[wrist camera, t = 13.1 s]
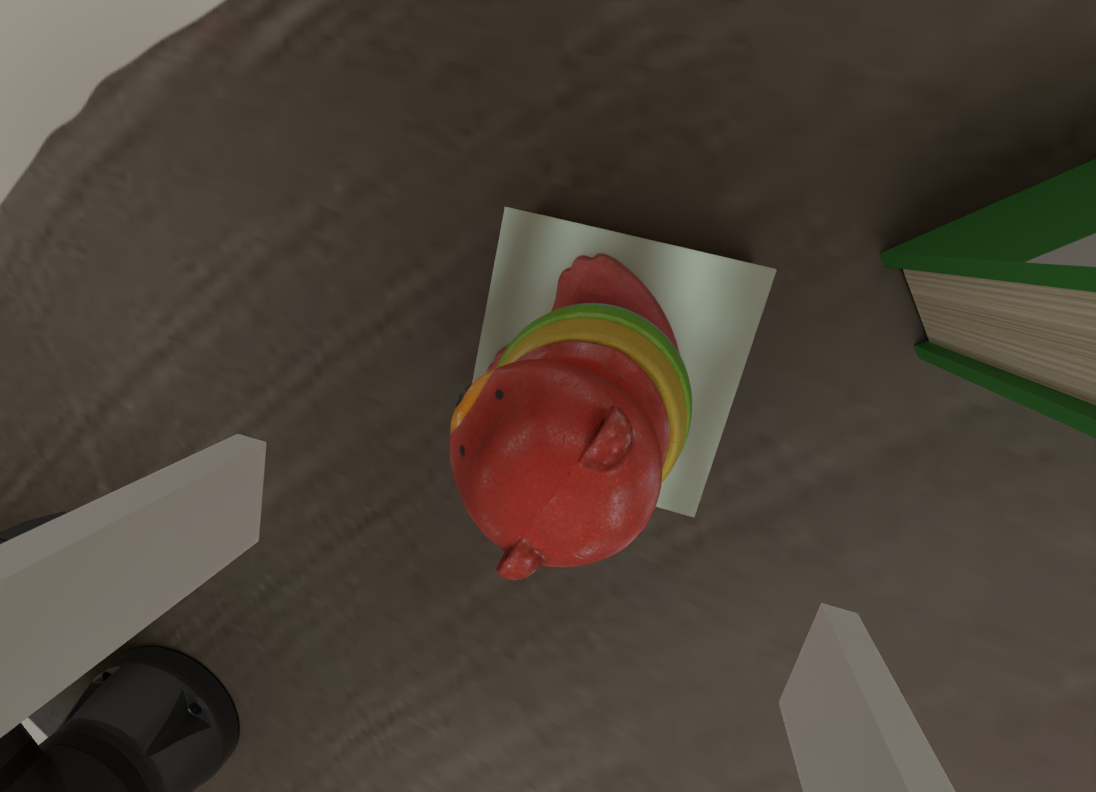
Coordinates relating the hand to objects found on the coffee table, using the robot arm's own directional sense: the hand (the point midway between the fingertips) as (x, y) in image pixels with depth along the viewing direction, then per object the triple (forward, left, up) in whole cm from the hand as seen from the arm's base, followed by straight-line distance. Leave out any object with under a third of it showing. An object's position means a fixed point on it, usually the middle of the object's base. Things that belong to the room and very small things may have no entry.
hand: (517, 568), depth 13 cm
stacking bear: (0, 0, -21) cm, 21 cm away
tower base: (0, 0, -29) cm, 29 cm away
